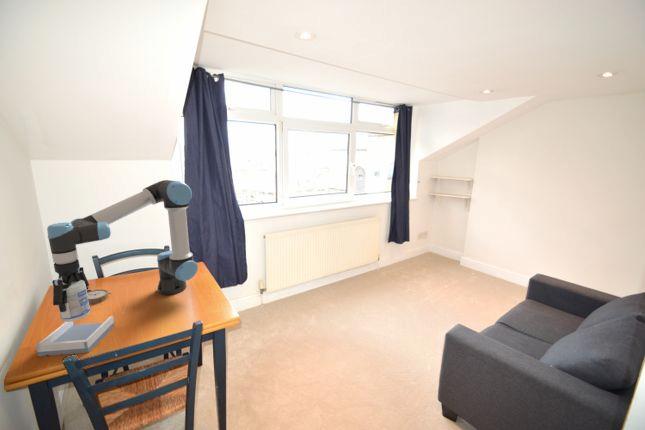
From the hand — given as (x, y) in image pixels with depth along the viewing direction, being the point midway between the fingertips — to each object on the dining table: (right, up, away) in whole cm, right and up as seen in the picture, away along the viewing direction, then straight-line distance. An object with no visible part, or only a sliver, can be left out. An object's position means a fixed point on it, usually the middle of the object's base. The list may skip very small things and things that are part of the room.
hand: (75, 310), depth 118 cm
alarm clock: (-21, -6, +34) cm, 41 cm away
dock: (0, -13, +2) cm, 13 cm away
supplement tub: (0, -3, +1) cm, 3 cm away
